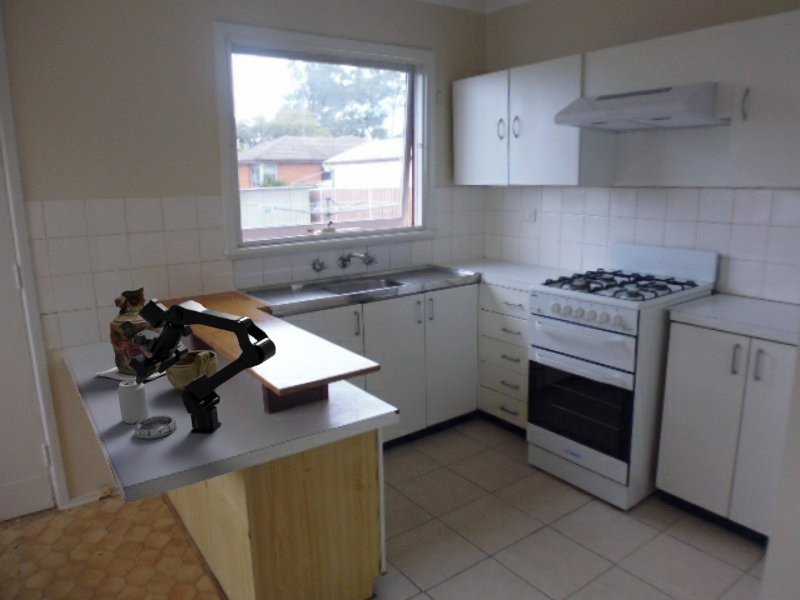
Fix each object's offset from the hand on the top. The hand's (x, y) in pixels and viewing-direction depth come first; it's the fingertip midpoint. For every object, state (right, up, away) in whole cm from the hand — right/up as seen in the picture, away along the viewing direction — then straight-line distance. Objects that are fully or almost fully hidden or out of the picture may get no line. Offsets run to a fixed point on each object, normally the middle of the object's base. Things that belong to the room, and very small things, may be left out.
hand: (148, 378), depth 174 cm
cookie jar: (-23, -4, +51) cm, 56 cm away
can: (-6, -13, +6) cm, 16 cm away
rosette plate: (+3, -15, -3) cm, 15 cm away
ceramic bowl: (+3, -7, +30) cm, 31 cm away
